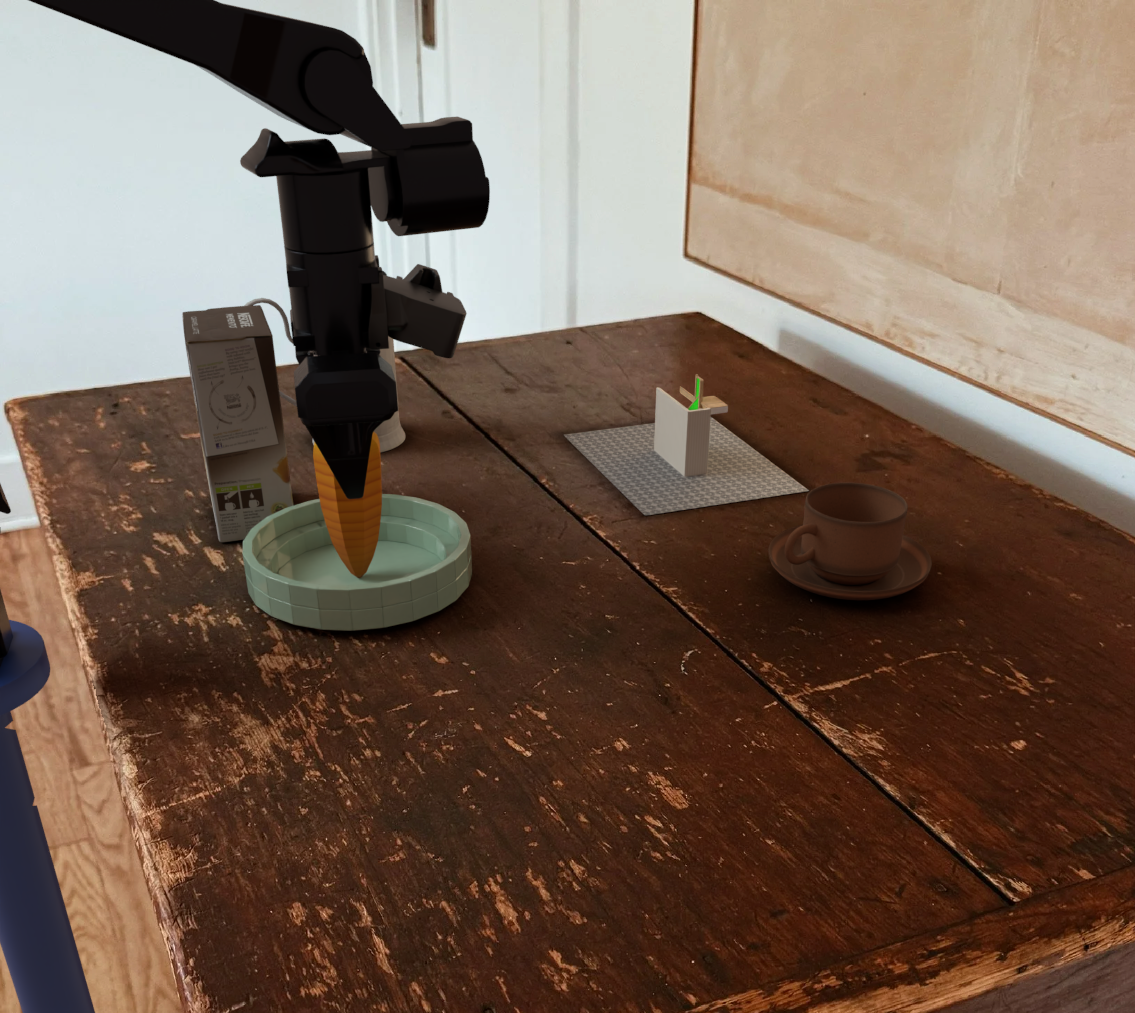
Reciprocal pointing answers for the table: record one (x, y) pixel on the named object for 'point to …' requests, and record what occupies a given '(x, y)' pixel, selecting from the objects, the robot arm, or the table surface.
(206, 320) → the coffee box
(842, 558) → the cup and saucer
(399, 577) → the bowl
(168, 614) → the table surface
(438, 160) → the robot arm
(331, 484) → the carrot
